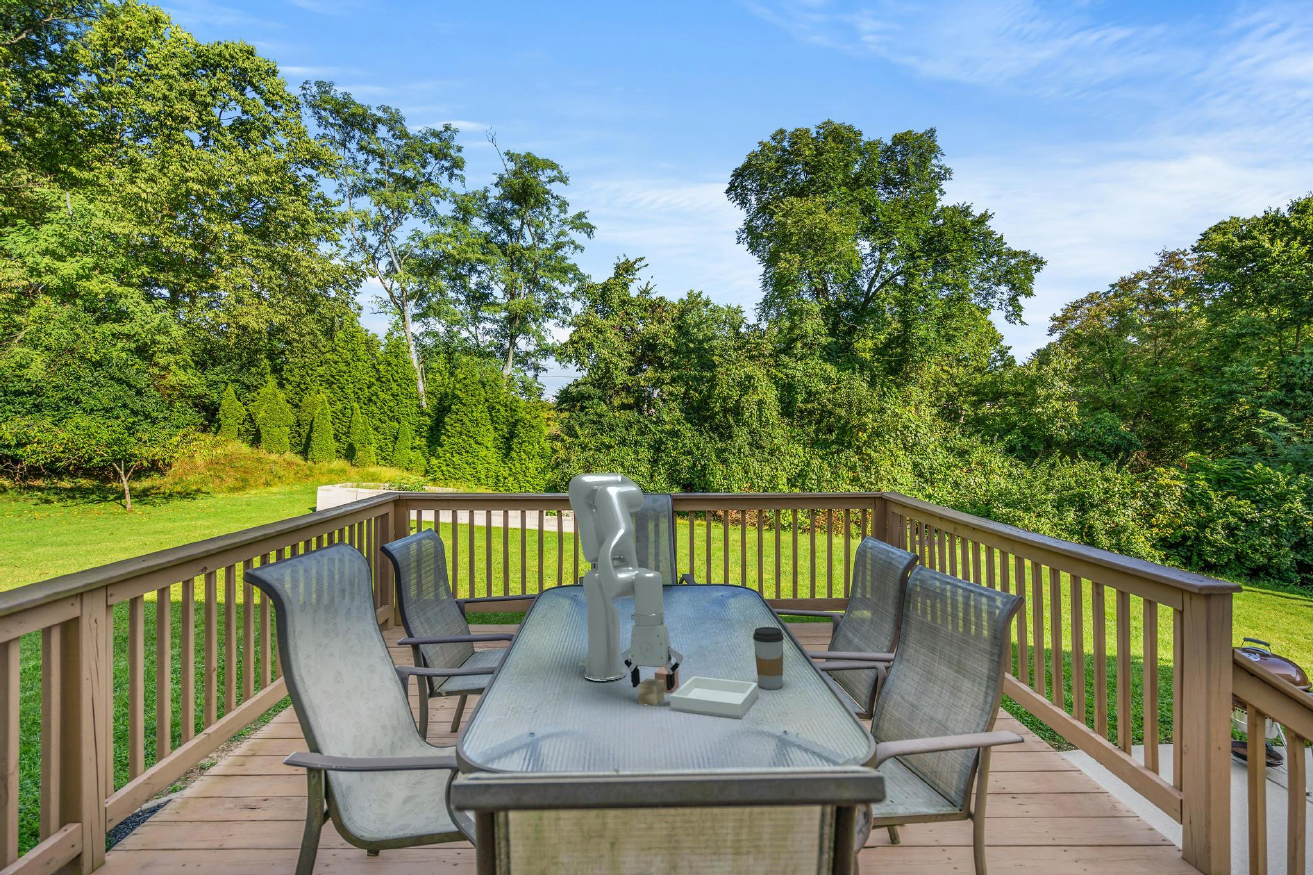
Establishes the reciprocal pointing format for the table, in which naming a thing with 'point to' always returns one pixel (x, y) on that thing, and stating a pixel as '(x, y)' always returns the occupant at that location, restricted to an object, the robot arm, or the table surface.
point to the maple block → (651, 692)
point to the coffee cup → (769, 656)
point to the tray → (715, 697)
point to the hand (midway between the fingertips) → (653, 687)
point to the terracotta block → (661, 675)
